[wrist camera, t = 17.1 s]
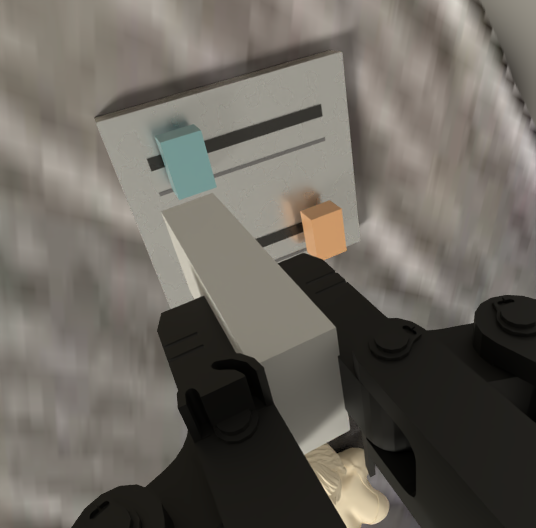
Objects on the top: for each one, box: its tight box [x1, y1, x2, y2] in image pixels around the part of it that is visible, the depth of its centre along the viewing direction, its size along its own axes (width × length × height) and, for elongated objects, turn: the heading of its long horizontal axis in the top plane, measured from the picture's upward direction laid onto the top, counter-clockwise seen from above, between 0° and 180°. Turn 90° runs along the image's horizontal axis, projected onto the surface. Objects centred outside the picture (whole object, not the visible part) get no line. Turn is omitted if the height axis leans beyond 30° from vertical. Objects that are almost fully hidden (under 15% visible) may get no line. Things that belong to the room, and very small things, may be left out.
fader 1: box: [155, 124, 217, 200], centre depth 34 cm, size 3×4×3 cm
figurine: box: [305, 443, 389, 528], centre depth 60 cm, size 14×9×20 cm
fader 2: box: [300, 200, 347, 260], centre depth 41 cm, size 3×4×3 cm
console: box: [94, 50, 360, 309], centre depth 40 cm, size 20×18×2 cm
